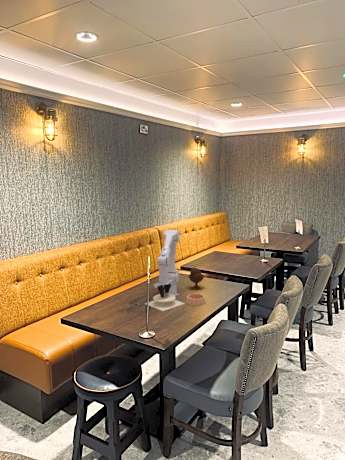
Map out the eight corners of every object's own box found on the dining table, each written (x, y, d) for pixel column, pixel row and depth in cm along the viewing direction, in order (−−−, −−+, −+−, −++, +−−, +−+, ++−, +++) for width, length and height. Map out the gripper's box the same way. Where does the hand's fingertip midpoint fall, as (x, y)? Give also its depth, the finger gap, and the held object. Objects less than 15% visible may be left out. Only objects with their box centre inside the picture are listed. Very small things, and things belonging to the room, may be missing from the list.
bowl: (183, 303, 229) (183, 296, 228) (195, 299, 236) (195, 292, 236) (196, 307, 221) (196, 300, 220) (208, 303, 228) (208, 296, 228)
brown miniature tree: (203, 291, 252) (203, 270, 250) (187, 290, 255) (187, 269, 252) (204, 286, 263) (204, 266, 260) (189, 285, 265) (189, 265, 263)
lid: (148, 298, 228) (148, 292, 228) (165, 293, 237) (165, 287, 237) (163, 303, 218) (163, 298, 217) (180, 298, 227) (180, 292, 227)
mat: (144, 304, 229) (144, 303, 229) (165, 297, 241) (165, 296, 241) (163, 311, 216) (163, 311, 216) (184, 304, 228) (184, 303, 228)
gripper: (159, 278, 218) (159, 300, 220) (176, 273, 227) (177, 294, 229) (151, 276, 223) (152, 297, 225) (169, 271, 232) (169, 292, 235)
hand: (164, 296), depth 228 cm, fingers closed on lid, 3 cm apart
